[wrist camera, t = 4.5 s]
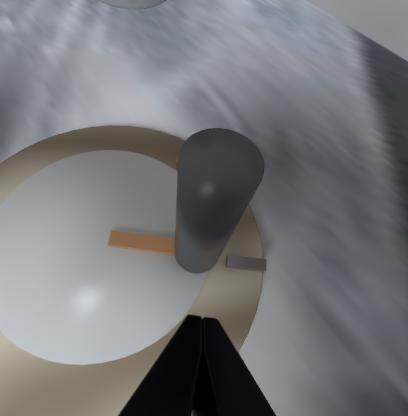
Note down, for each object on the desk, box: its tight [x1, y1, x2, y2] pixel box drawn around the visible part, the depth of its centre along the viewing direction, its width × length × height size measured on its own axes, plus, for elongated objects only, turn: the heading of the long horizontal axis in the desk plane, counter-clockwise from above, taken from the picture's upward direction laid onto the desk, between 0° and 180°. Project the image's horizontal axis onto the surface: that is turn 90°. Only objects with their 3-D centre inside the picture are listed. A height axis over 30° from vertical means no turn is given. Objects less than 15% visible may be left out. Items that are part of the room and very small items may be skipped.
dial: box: [0, 128, 264, 365], centre depth 11 cm, size 12×12×9 cm
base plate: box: [0, 126, 266, 416], centre depth 15 cm, size 18×18×2 cm
